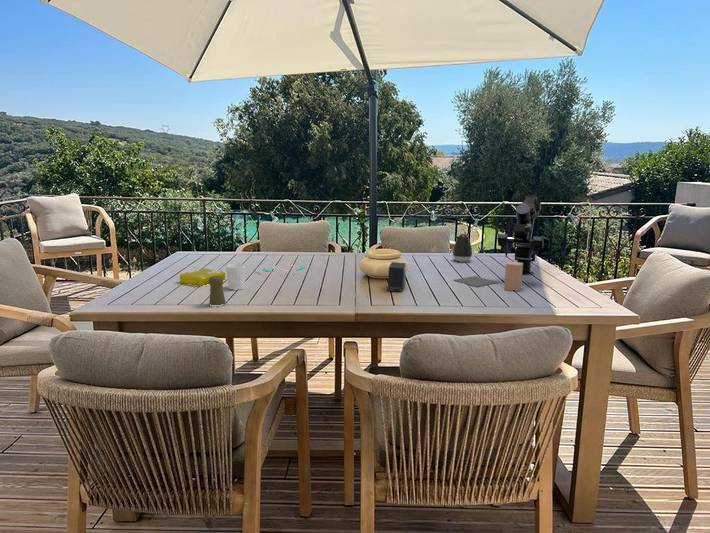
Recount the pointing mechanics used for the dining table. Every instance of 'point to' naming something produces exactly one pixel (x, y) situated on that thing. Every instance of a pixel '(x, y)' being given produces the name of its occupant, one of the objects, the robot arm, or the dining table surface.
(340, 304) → the dining table surface
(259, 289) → the dining table surface
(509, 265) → the tan rectangular block
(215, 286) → the cork
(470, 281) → the rubber mat
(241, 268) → the white cup
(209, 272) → the element tile
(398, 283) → the small box
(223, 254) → the dining table surface
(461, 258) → the dark grey rounded vessel
